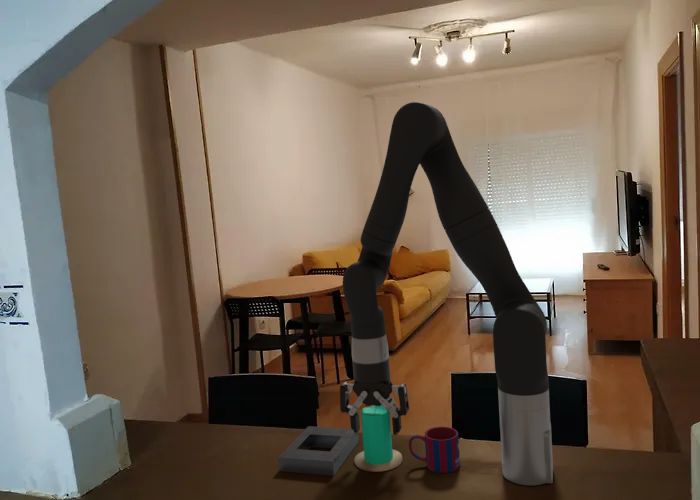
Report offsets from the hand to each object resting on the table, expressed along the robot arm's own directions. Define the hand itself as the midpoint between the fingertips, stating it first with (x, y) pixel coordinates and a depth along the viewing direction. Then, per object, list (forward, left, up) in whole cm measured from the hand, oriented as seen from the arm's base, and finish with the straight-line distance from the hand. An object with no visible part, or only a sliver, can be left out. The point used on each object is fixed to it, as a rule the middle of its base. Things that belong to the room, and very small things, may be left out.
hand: (376, 432), depth 126 cm
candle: (0, 0, -6) cm, 6 cm away
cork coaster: (0, 0, -6) cm, 6 cm away
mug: (-12, 0, -6) cm, 14 cm away
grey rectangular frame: (+13, 0, -6) cm, 14 cm away
